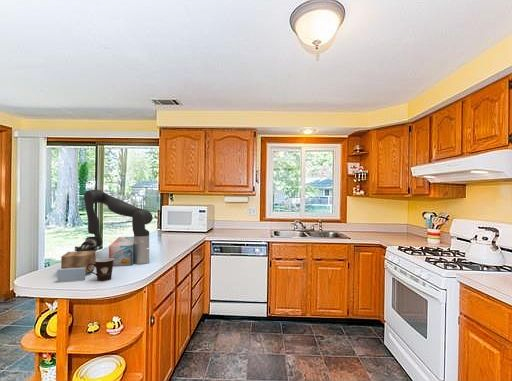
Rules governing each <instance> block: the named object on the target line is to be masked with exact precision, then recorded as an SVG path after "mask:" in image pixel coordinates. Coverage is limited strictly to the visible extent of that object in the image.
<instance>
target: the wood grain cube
mask: <svg viewBox="0 0 512 381" xmlns="http://www.w3.org/2000/svg"><path fill="white" fill-rule="evenodd" d="M96 251H97V250H95V251H68V252H66V253H65V254H63V255H62V256H61V257H60V258H61V262H60V265H61V266H60V267H61V268H60V269H66V268H83V267H85V272H89V271H88V270H87V265H89V264H91V263H93V264H95V260H96ZM95 268H96V267H95V266H94V265H89V266H88V269H89V270H90V271H92V272H93V270H94V269H95ZM89 273H90V272H89Z"/></svg>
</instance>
